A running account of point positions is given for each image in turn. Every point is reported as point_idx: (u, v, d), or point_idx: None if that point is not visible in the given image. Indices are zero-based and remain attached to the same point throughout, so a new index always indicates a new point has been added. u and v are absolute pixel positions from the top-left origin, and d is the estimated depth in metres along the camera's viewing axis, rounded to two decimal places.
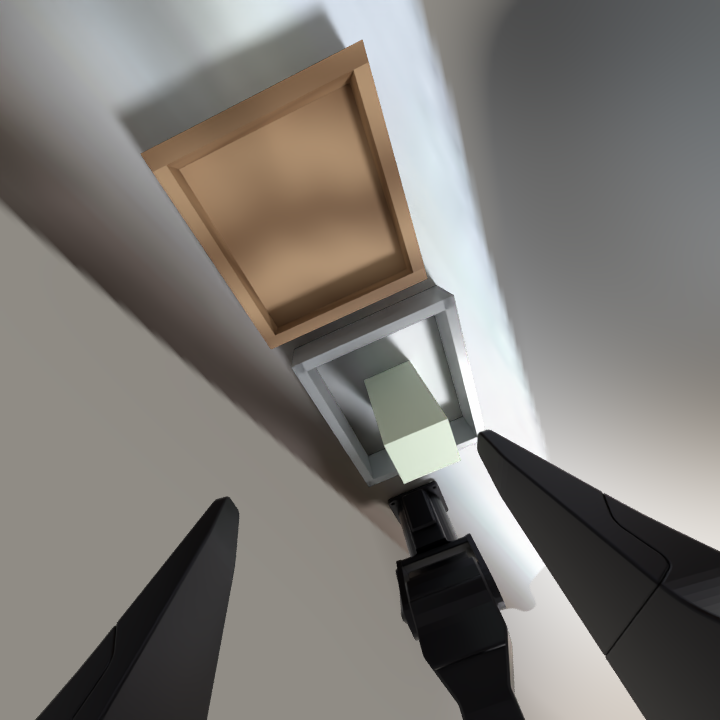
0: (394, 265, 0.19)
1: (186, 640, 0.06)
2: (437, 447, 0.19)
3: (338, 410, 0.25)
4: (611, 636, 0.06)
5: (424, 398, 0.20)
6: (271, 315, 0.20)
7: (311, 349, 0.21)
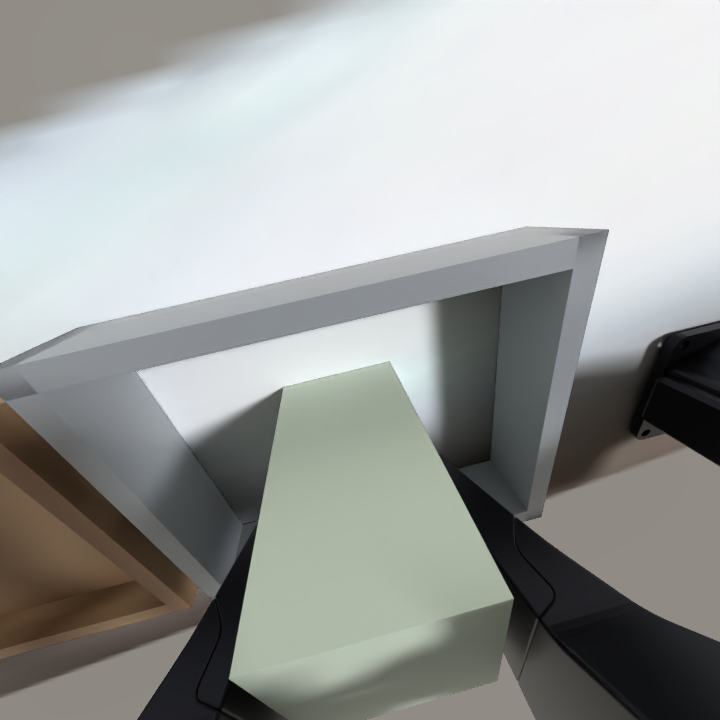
0: None
1: None
2: (381, 665, 0.05)
3: None
4: (518, 663, 0.06)
5: None
6: None
7: None
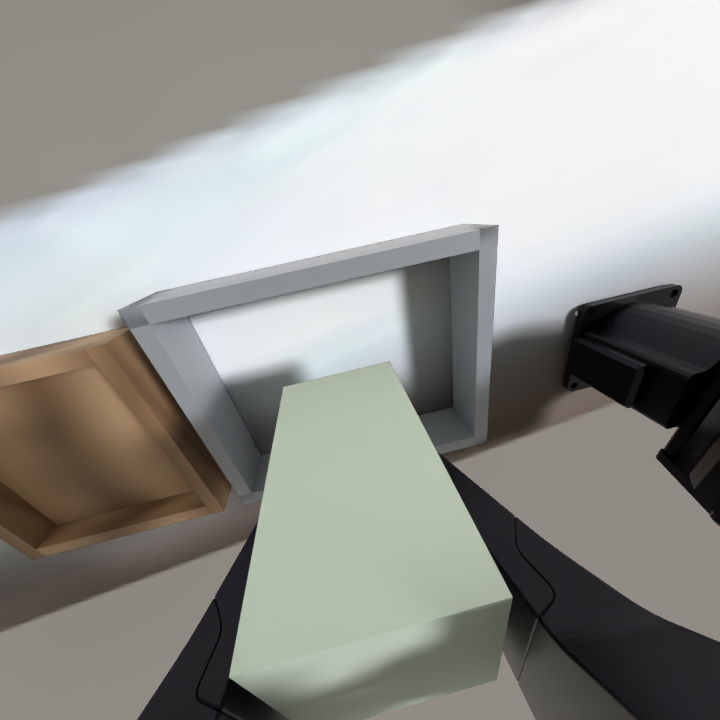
0: None
1: None
2: (380, 664, 0.05)
3: None
4: (518, 663, 0.06)
5: None
6: None
7: None
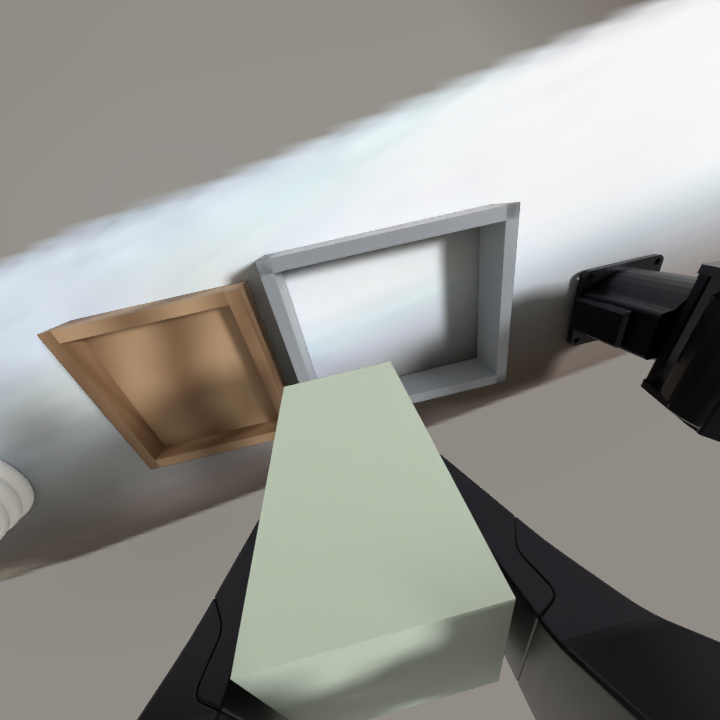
0: (232, 311, 0.18)
1: None
2: (382, 665, 0.05)
3: None
4: (518, 663, 0.06)
5: None
6: (274, 419, 0.23)
7: None
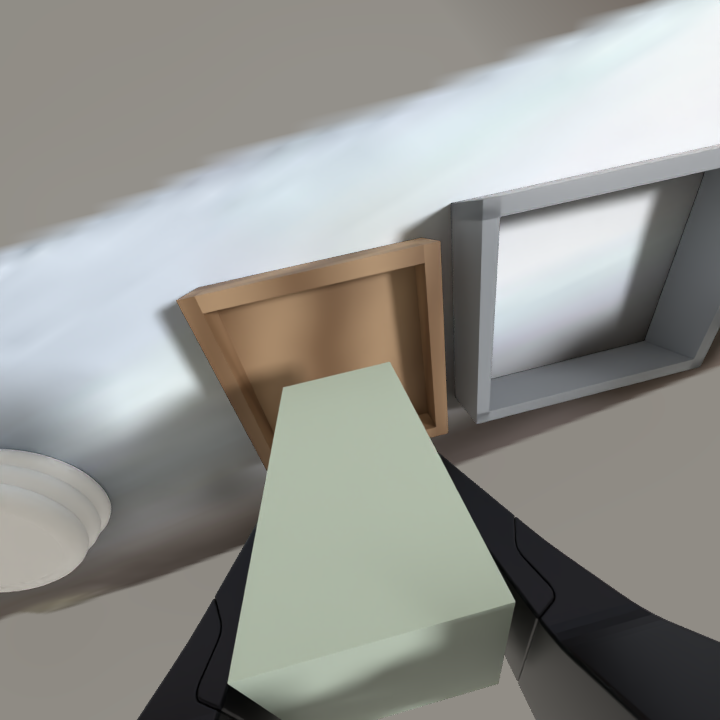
0: (405, 276, 0.14)
1: None
2: (381, 668, 0.05)
3: (553, 371, 0.19)
4: (518, 663, 0.06)
5: None
6: None
7: (465, 391, 0.18)
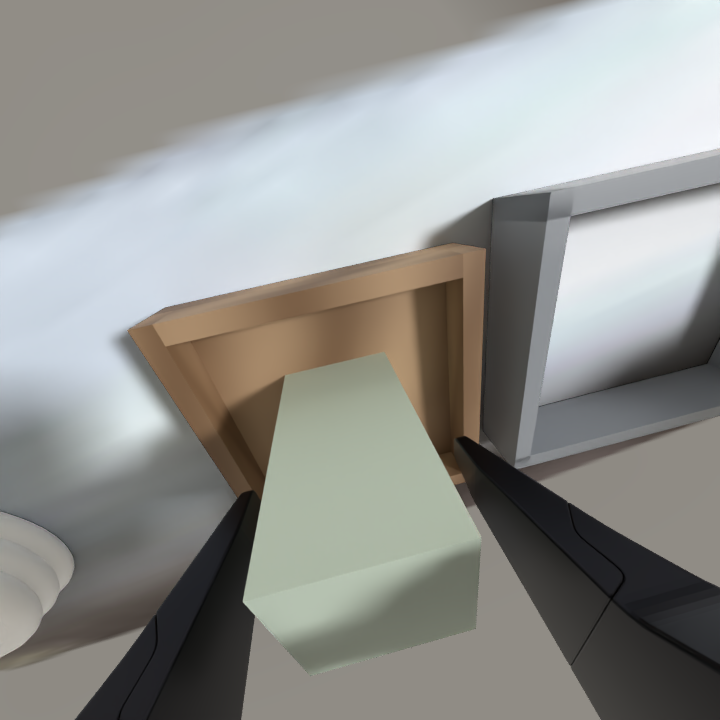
0: (432, 292, 0.11)
1: (223, 630, 0.06)
2: (370, 599, 0.06)
3: (602, 402, 0.16)
4: (573, 646, 0.06)
5: None
6: None
7: (498, 428, 0.15)
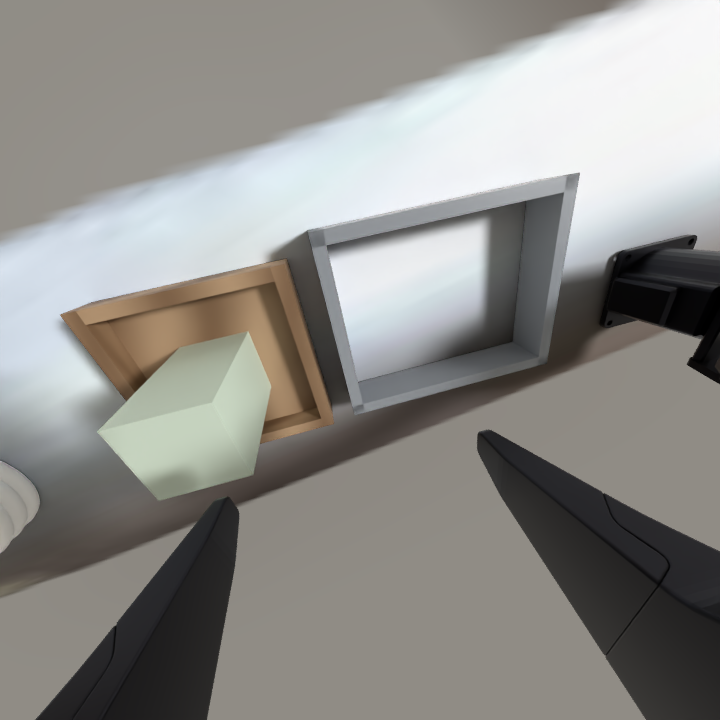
0: (272, 290, 0.17)
1: (186, 640, 0.06)
2: (169, 439, 0.11)
3: (430, 369, 0.22)
4: (610, 636, 0.06)
5: None
6: (307, 409, 0.22)
7: None
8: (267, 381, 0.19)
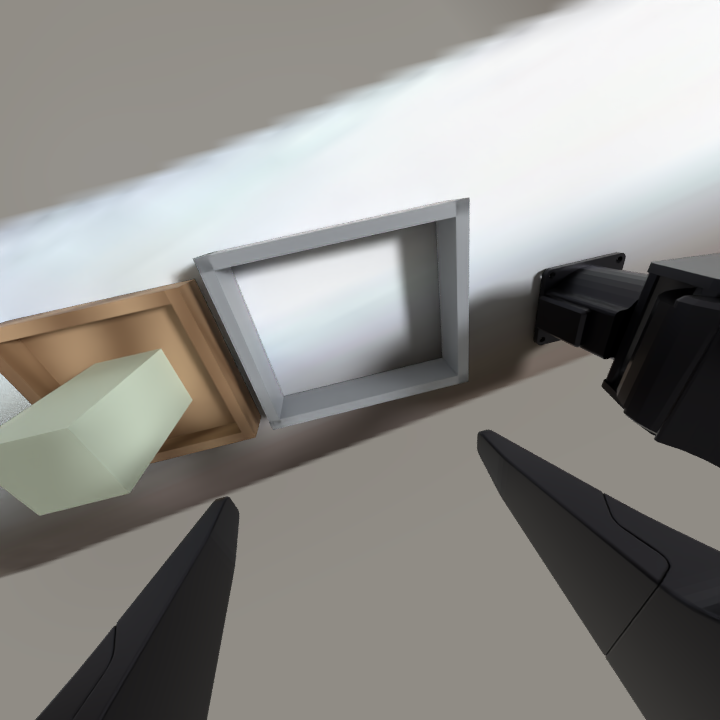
0: None
1: (186, 640, 0.06)
2: (33, 461, 0.12)
3: (355, 384, 0.22)
4: (611, 636, 0.06)
5: None
6: (233, 421, 0.22)
7: None
8: (185, 395, 0.20)
